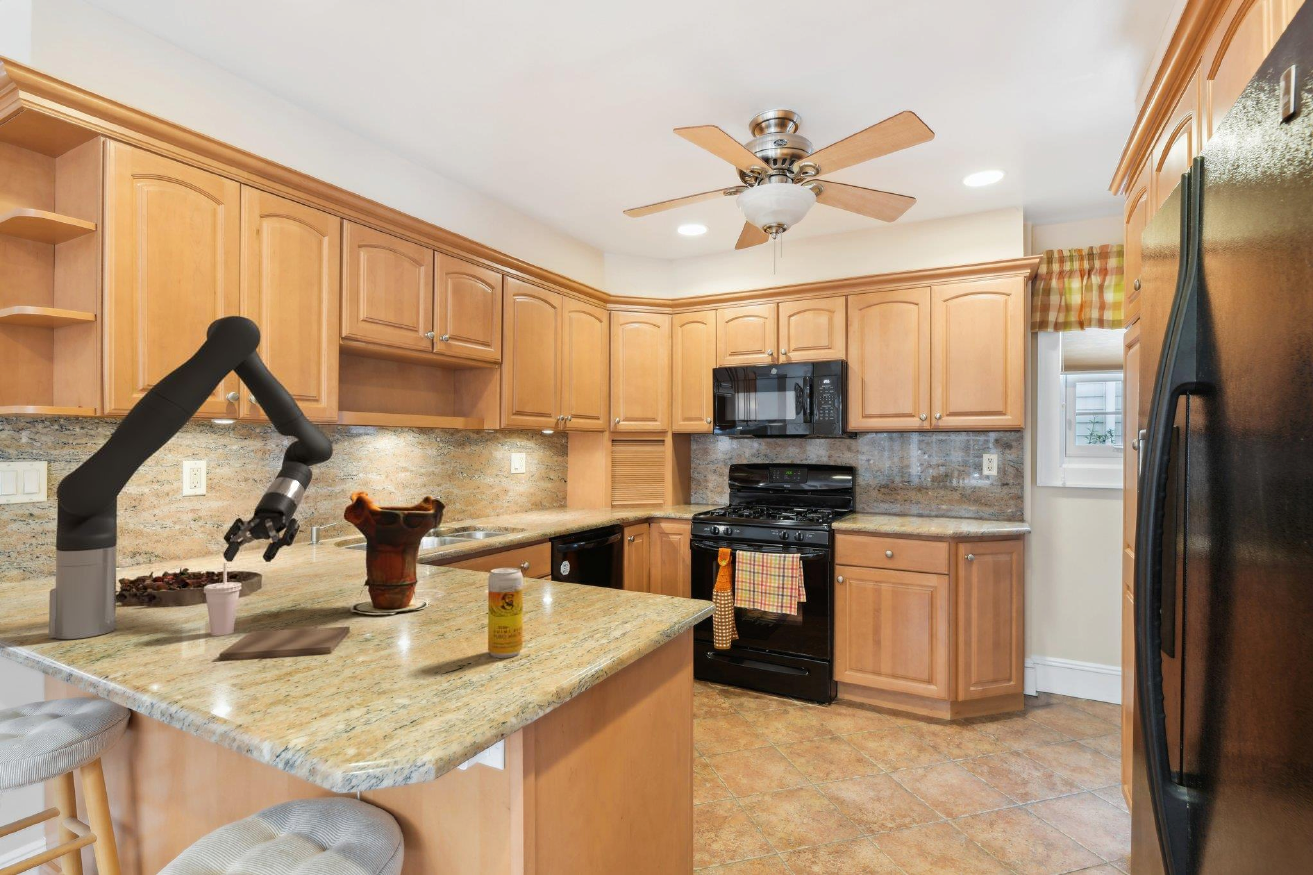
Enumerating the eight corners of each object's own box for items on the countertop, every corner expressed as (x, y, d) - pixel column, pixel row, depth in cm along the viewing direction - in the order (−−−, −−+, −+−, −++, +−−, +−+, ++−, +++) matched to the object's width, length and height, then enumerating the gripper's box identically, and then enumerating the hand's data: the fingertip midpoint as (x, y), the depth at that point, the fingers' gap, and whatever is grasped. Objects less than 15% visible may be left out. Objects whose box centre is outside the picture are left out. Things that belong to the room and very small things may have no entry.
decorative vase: (458, 607, 153) (458, 490, 153) (356, 623, 138) (357, 494, 139) (425, 592, 168) (426, 487, 169) (331, 606, 154) (332, 490, 154)
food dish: (92, 599, 167) (93, 569, 168) (238, 582, 192) (238, 555, 193) (122, 617, 145) (123, 582, 145) (284, 594, 170) (284, 564, 170)
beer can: (492, 660, 114) (492, 574, 114) (484, 651, 119) (484, 569, 119) (526, 655, 116) (526, 571, 117) (517, 646, 122) (517, 566, 122)
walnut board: (219, 660, 114) (219, 653, 114) (251, 638, 128) (251, 631, 128) (330, 653, 118) (330, 646, 118) (349, 632, 132) (349, 626, 132)
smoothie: (248, 629, 134) (249, 561, 134) (225, 638, 128) (225, 566, 128) (219, 628, 135) (220, 560, 135) (194, 637, 128) (195, 566, 128)
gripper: (242, 490, 148) (205, 549, 136) (304, 490, 147) (271, 549, 136) (258, 512, 153) (222, 569, 141) (317, 512, 152) (286, 570, 141)
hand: (246, 559), depth 138 cm, fingers open, 8 cm apart
